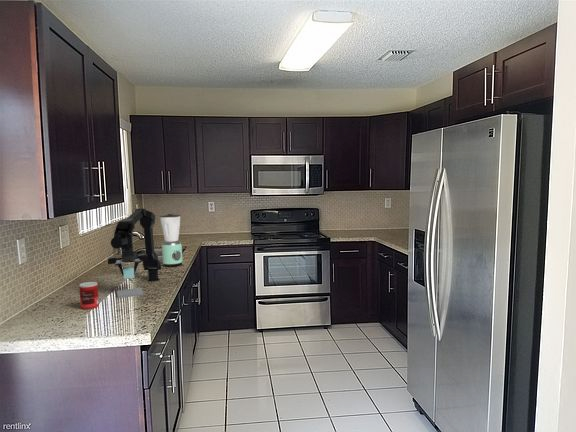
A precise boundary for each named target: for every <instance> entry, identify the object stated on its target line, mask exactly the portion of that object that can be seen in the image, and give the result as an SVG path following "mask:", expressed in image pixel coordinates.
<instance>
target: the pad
mask: <svg viewBox="0 0 576 432" xmlns="http://www.w3.org/2000/svg"><path fill="white" fill-rule="evenodd" d="M116 295H117V299H121V298H122V299H123V298H129V297H137V296H138V297H139V296H143V295H144V292H143V288H142V287H136V288H125V289H120V290H119V289H118V290H116Z"/></svg>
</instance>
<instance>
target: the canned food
mask: <svg viewBox="0 0 576 432" xmlns="http://www.w3.org/2000/svg"><path fill="white" fill-rule="evenodd" d="M78 288H79V290H78V291H79V301H80V308H81V310H93V309H96V308H97V307H98V308H99V305H100V300H99V285H98V282H97V281H86V282H82V283H80V284H79V286H78Z"/></svg>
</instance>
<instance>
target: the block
mask: <svg viewBox="0 0 576 432" xmlns="http://www.w3.org/2000/svg"><path fill="white" fill-rule="evenodd" d="M122 268H123V274H124V276H123V279H124V280H126V279H135V275H134V265H132V266H122Z"/></svg>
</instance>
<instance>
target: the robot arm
mask: <svg viewBox="0 0 576 432" xmlns="http://www.w3.org/2000/svg"><path fill="white" fill-rule="evenodd" d="M138 222H139V225H140V226H141V227H142V229H143V238H144V248H145V253H139V254H138V251H137V250H135V251H134V243H133V236H134V232H133V231H135V228H136V226H135V225H136V224H137V223H138ZM155 223H156V215H155V213H154V212H152V211H150V210H147V209H146V208H144V207H143V208H141V207H140V208H136V209H135V210H134V211H133V212H132V213H131V214H130V215H129V216H128V217H127V218H125V219H124V218H123V219H120V220H119V221H118V222H117V224H116V228H115V230H114V234H113V238H111V240H110V245H111V247H112V248H113V249H115V250H117V249H120V251H121V252H120V253H121V255H120V256H121V257H117V256H109V257H108V258H107V264H108V265H113V264H114V265H115V266H117V267H118V268H119V271H120V272H121V273H120V274H121V275H122V277H124V274H123V264H122V262H123V263H131V262H133V267H134V276H135V275H136V271H137V269H138V265H139V264H141V263H142V266H143V270H144V271H147V276H148V277H147V278H146V279H147V282H154V281H160V280H161V279H160V277H159V270H162V265H163V264H162V263H161V262H160V260H159V256H158V255H157V253H156V252H155V244H154V243H155V242H154V241H155V240H154V232H153V230H154V229H153V227H154V226H155Z"/></svg>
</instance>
